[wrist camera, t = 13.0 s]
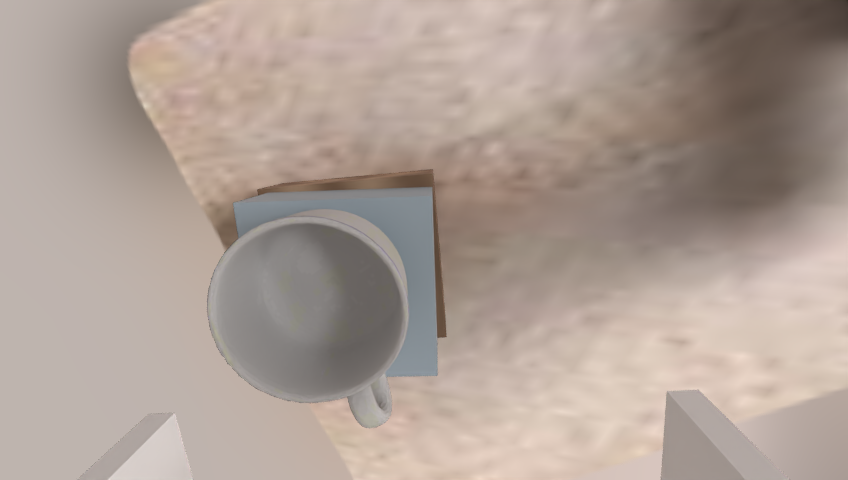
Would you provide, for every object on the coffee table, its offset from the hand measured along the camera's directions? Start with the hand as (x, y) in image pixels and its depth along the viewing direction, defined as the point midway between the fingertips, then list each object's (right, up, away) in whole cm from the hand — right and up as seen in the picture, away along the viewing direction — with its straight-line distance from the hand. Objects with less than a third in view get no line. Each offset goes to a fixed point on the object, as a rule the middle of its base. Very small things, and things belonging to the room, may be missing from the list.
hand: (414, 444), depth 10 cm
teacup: (-5, +2, +19) cm, 19 cm away
